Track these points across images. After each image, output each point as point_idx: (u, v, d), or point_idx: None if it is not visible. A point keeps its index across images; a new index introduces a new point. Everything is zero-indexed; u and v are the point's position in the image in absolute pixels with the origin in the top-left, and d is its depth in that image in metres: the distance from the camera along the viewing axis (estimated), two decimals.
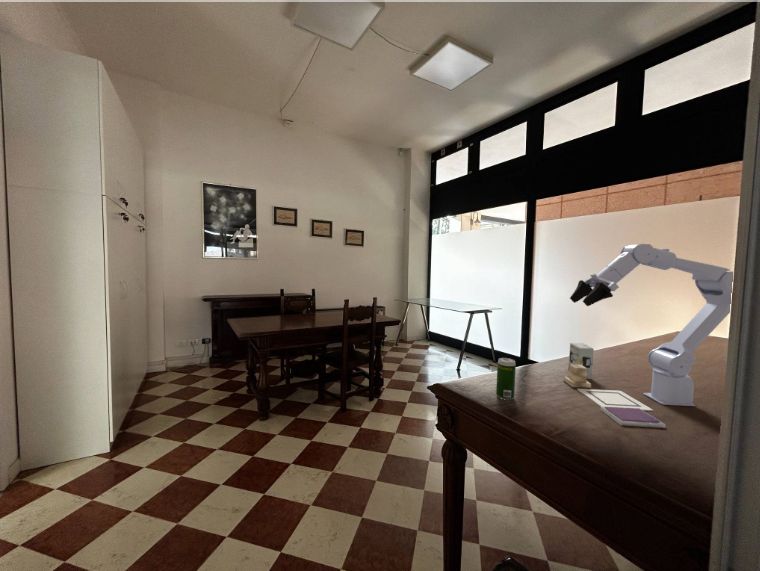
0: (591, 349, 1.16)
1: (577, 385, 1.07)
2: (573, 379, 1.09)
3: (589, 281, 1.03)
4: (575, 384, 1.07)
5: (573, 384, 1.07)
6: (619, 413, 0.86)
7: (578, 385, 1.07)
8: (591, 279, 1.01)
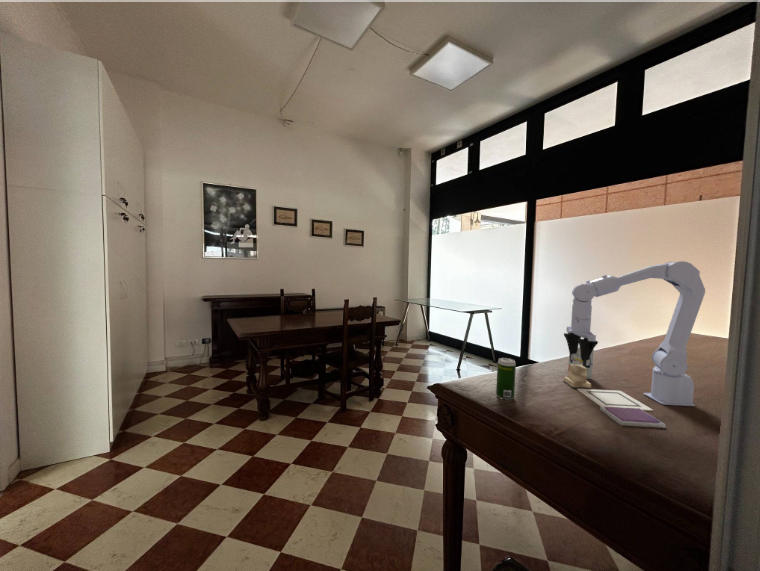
0: None
1: (577, 385, 1.07)
2: (573, 379, 1.09)
3: None
4: (575, 384, 1.07)
5: (573, 384, 1.07)
6: (619, 413, 0.86)
7: (578, 385, 1.07)
8: None
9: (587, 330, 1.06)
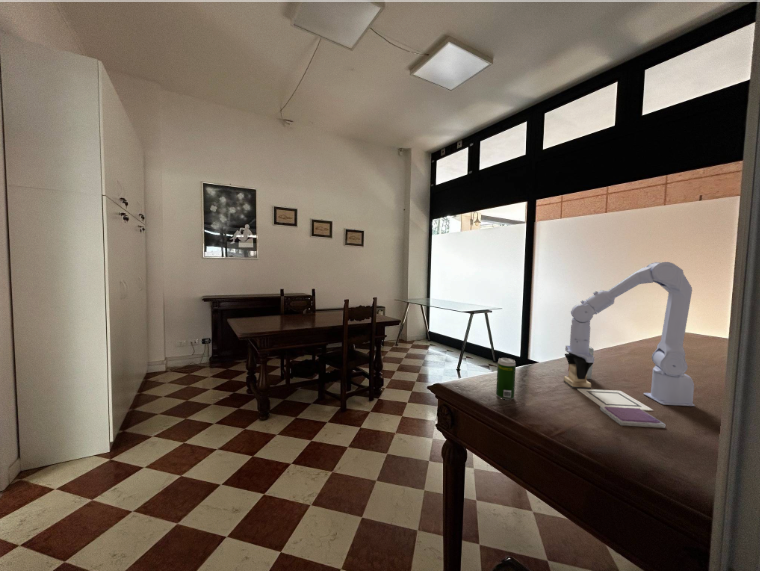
0: (591, 349, 1.16)
1: (577, 385, 1.07)
2: (573, 379, 1.09)
3: None
4: (575, 383, 1.07)
5: (573, 384, 1.07)
6: (619, 413, 0.86)
7: (578, 385, 1.07)
8: None
9: (585, 351, 1.06)
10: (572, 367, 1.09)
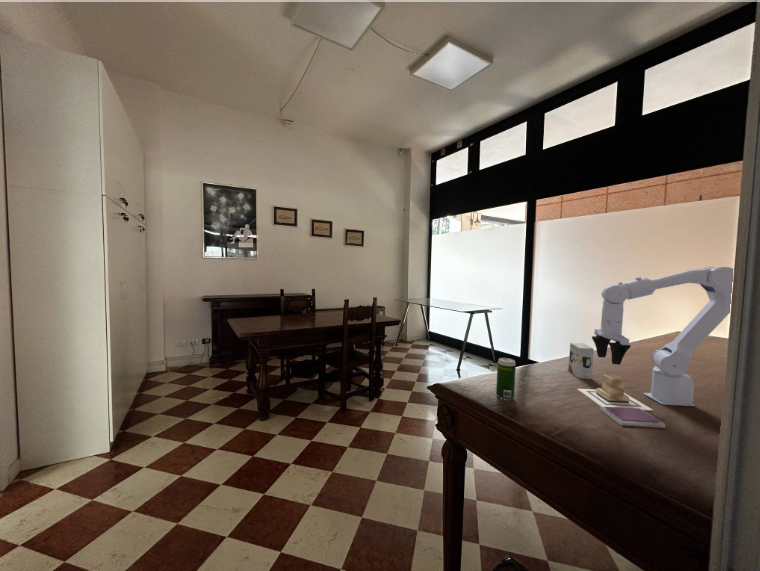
0: (591, 349, 1.16)
1: (613, 398, 0.96)
2: (608, 391, 0.97)
3: None
4: (611, 397, 0.96)
5: (609, 397, 0.96)
6: (619, 413, 0.86)
7: (614, 398, 0.96)
8: None
9: (618, 333, 1.02)
10: (607, 378, 0.98)
